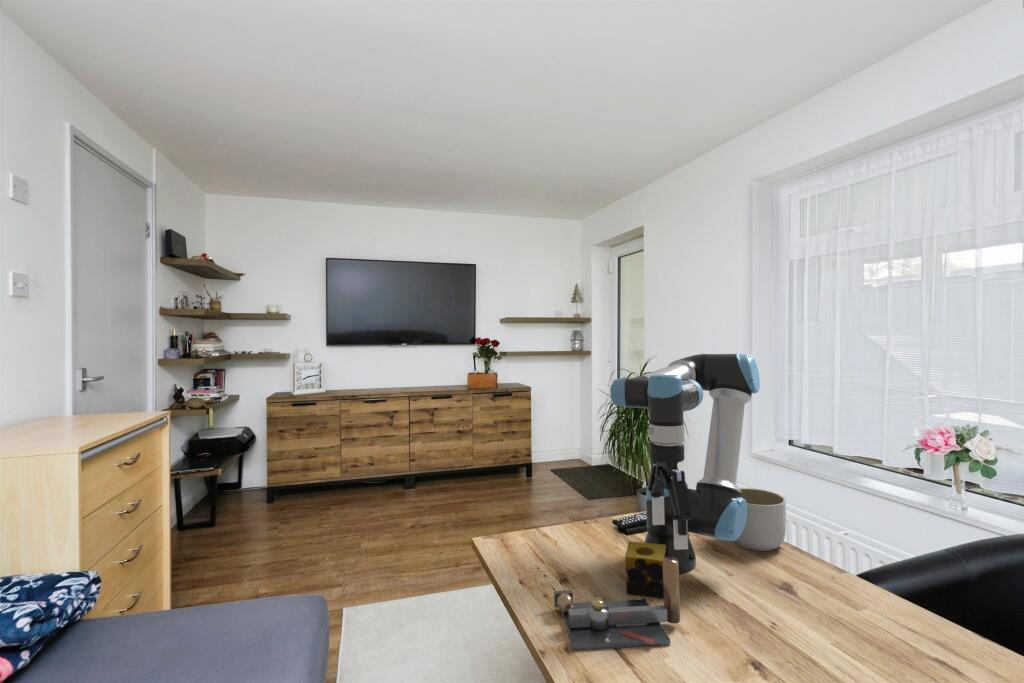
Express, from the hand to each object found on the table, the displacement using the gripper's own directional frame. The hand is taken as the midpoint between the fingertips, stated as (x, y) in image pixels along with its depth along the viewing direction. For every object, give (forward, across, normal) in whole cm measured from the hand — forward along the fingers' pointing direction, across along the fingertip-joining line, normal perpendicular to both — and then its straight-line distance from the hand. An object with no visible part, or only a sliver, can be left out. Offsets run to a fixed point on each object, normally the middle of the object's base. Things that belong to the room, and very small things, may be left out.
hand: (669, 535), depth 107 cm
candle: (+21, -17, 0) cm, 27 cm away
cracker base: (+20, -1, -14) cm, 25 cm away
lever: (+19, 0, -11) cm, 22 cm away
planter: (+21, -39, +42) cm, 61 cm away
